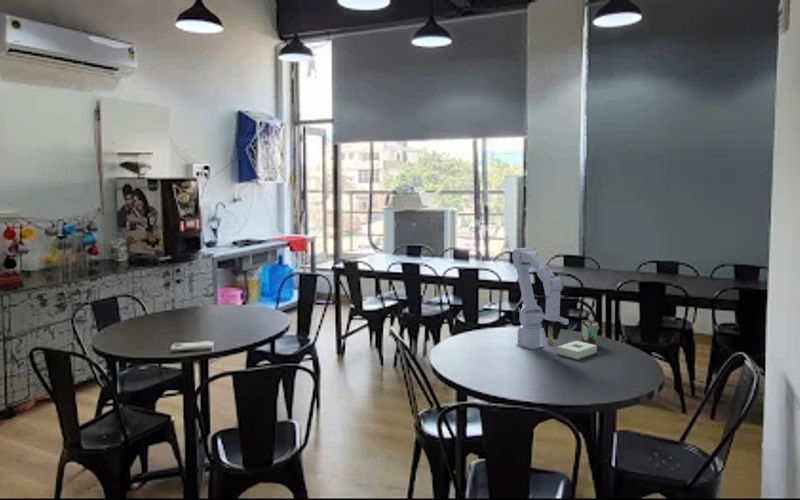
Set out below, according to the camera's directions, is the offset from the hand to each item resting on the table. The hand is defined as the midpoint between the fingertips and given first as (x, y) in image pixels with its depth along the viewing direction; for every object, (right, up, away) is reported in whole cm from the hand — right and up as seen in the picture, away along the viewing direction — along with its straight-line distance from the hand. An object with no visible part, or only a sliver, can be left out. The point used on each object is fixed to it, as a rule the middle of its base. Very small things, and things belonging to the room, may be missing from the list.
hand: (551, 338), depth 264 cm
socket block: (+12, -7, +4) cm, 14 cm away
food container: (+22, -6, +18) cm, 29 cm away
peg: (0, -3, 0) cm, 3 cm away
